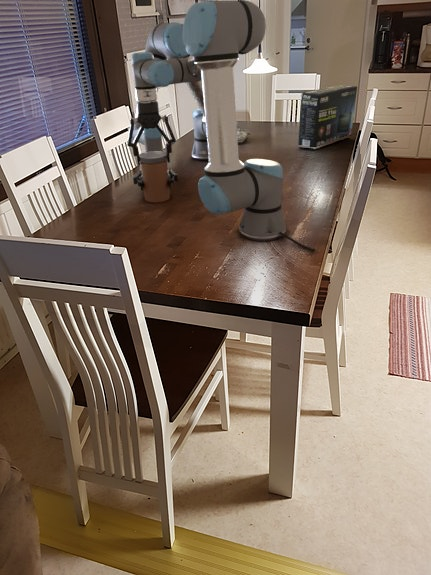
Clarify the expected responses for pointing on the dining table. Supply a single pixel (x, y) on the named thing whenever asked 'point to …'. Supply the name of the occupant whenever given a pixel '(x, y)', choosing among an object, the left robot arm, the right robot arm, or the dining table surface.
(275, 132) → the dining table surface
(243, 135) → the fossil
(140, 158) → the lid
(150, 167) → the jar
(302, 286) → the dining table surface
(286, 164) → the dining table surface
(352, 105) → the router box
